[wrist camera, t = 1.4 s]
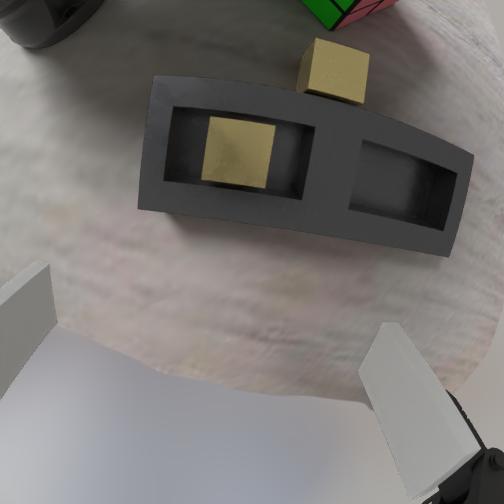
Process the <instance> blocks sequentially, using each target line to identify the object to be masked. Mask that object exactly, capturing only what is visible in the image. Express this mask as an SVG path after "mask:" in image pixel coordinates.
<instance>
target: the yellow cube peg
mask: <svg viewBox="0 0 504 504" xmlns="http://www.w3.org/2000/svg"><path fill="white" fill-rule="evenodd" d="M275 127H276V126H273V125H268V124H262V123H255V122H249V121H242V120H235V119H227V118H219V117H210V122H209V129H208V135H207V142H206V148H205V155H204V163H203V170H202V178H201V179H202V180H210V181H218V182H225V183H232V184H240V185H246V186H253V187H260V188H265V185H266V179H267V173H268V168H269V162H270V156H271V150H272V144H273V138H274V132H275Z"/></svg>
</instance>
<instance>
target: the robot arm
mask: <svg viewBox="0 0 504 504" xmlns="http://www.w3.org/2000/svg"><path fill="white" fill-rule="evenodd" d="M103 1H104V0H0V28H1V29H2V30H3V31H4V32H5V33H6V34H7V35H8V36H9V37H10V39H11V40H12V41H13V42H15V43H16V44H18V45H22V46H25V47H28V48H33V49H38V48H43V47H47V46H50V45H52V44H54V43H56V42H58V41H60V40H62V39H64V38H65V37H67V36H68V35H70V34H71V33H72V32H74V31H75V30H76V29H78V28H79V27H80V26H81V25H82V24H83V23H84V22H86V21H87V20H88V19H89V18H90V17H91V16H92V14H93V13H94V12H95V11H96V10H97V9H98V8H99V6H100V5H101V4H102V3H103ZM57 322H58V321H57V316H56V310H55V304H54V298H53V291H52V284H51V275H50V266H49V264H47V263H43V262H40V261H36V260H35V261H34V262H32V263H31V264H30V265H28V266H27V267H26V268H25V269H23V270H22V271H21V272H19V273H18V274H17V275H15V276H14V277H13V278H12V279H10V280H9V281H8V282H7V283H5V284H4V285H3V286H2V287H1V288H0V400H1V398H2V397H3V396H4V394H5V392H6V391H7V389H8V388H9V387H10V385H11V383H12V382H13V381H14V379H15V378H16V376H17V375H18V374H19V372H20V371H21V369H22V367H24V365H25V364H26V362H27V361H28V360H29V358H30V357H31V356H32V354H33V353H34V352H35V350H36V349H37V348H38V346H39V345H40V344H41V342H42V341H43V340H44V339H45V337H46V336H47V335H48V334H49V332H50V331H51V330H52V328H53V327H54V326H55V325H56V324H57ZM357 372H358V374H359V376H360V379H361V381H362V383H363V386H364V388H365V390H366V392H367V395H368V397H369V399H370V402H371V404H372V407H373V409H374V411H375V414H376V416H377V418H378V421H379V423H380V426H381V428H382V431H383V433H384V435H385V438H386V440H387V443H388V445H389V448H390V450H391V453H392V456H393V458H394V461H395V463H396V466H397V468H398V471H399V473H400V477H401V479H402V482H403V485H404V487H405V490H406V493H407V496H408V498H409V500H412V499H415V498H418V497H421V496H423V495H426V494H428V493H429V492H430V491H431V490H433V489H434V488H436V487H437V486H438V488H439V491H438V492H437V493H435V494H434V495H432V496H431V497H430V498H428V499H427V500H425V501H424V502H423V503H422V504H429V503H430V502H432V504H504V453H503V452H502V451H501V450H499V449H497V448H490V449H487V448H486V447H485V445H484V443H483V442H482V440H481V438H480V437H479V435H478V433H477V431H476V430H475V428H474V427H473V425H472V423H471V422H470V420H469V419H467V415H466V414H465V412H464V411H462V407H461V406H460V404H459V403H458V401H457V400H456V398H455V397H454V396H453V395H452V394H450V393H449V392H448V391H447V390H445V389H444V387H443V385H442V384H441V382H440V381H439V379H438V378H437V377H436V375H435V374H434V372H433V371H432V369H431V368H430V366H429V365H428V363H427V362H426V360H425V359H424V358H423V356H422V355H421V353H420V352H419V351H418V349H417V348H416V346H415V345H414V344H413V342H412V341H411V339H410V338H409V337H408V335H407V334H406V333H405V331H404V330H403V329H402V327H401V326H400V324H399V323H398V322H389V321H383V322H382V324H381V327H380V329H379V331H378V333H377V335H376V337H375V339H374V341H373V343H372V345H371V347H370V349H369V351H368V353H367V355H366V357H365V358H364V360H363V362H362V364H361V366H360V368H359V370H358V371H357Z"/></svg>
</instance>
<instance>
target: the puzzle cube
mask: <svg viewBox="0 0 504 504" xmlns="http://www.w3.org/2000/svg"><path fill="white" fill-rule="evenodd" d="M301 1H302V2H303V3H304V4H305V5H306V6H307V7H308V8H309V9H310V10H311V11H312V12H313V14H314V15H315V16H316V17H317V18H318V19H319V20H320V21H321V22H322V23H323V24H324V25H325V27H326V28H327V29H328V30H329V31H335V30H337V29H339V28H341V27H343V26H345V25H347V24H349V23H351V22H354V21H356V20H358V19H360V18H362V17H364V16H365V15H369V14H371V13H374V12H376V11H378V10H381V9H383V8H386V7H388V6H391V5H393V4H394V3H396V2H397V1H398V0H301Z"/></svg>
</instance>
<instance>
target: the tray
mask: <svg viewBox="0 0 504 504" xmlns="http://www.w3.org/2000/svg"><path fill="white" fill-rule="evenodd" d="M210 117H219V118H227V119H235V120H242V121H249V122H255V123H262V124H268V125H273V126H276V127H275V132H274V138H273V144H272V150H271V156H270V162H269V168H268V173H267V179H266V185H265V188H260V187H253V186H246V185H240V184H232V183H225V182H218V181H210V180H202V179H201V178H202V170H203V163H204V155H205V148H206V142H207V135H208V129H209V122H210ZM473 160H474V155H473V154H471V153H469V152H467V151H465V150H463V149H461V148H459V147H457V146H455V145H453V144H451V143H449V142H447V141H444V140H442V139H440V138H438V137H436V136H433V135H431V134H429V133H427V132H424V131H422V130H419V129H417V128H415V127H412V126H410V125H407V124H404V123H402V122H399V121H397V120H394V119H391V118H388V117H386V116H383V115H380V114H377V113H374V112H371V111H368V110H365V109H362V108H358V107H355V106H352V105H348V104H345V103H341V102H338V101H334V100H330V99H327V98H323V97H319V96H315V95H310V94H306V93H302V92H297V91H292V90H287V89H282V88H277V87H271V86H266V85H260V84H253V83H246V82H239V81H231V80H222V79H212V78H200V77H185V76H154V79H153V84H152V89H151V95H150V101H149V107H148V113H147V120H146V127H145V134H144V142H143V151H142V160H141V170H140V182H139V195H138V209H140V210H149V211H157V212H165V213H174V214H181V215H189V216H197V217H205V218H212V219H220V220H227V221H234V222H241V223H248V224H255V225H262V226H269V227H275V228H282V229H289V230H295V231H301V232H308V233H314V234H320V235H326V236H333V237H339V238H345V239H350V240H356V241H362V242H368V243H374V244H379V245H385V246H391V247H396V248H401V249H407V250H412V251H418V252H423V253H428V254H433V255H438V256H444V257H449V256H450V253H451V250H452V247H453V244H454V240H455V237H456V234H457V230H458V227H459V223H460V220H461V216H462V212H463V208H464V204H465V200H466V196H467V191H468V186H469V182H470V177H471V171H472V166H473Z"/></svg>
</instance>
